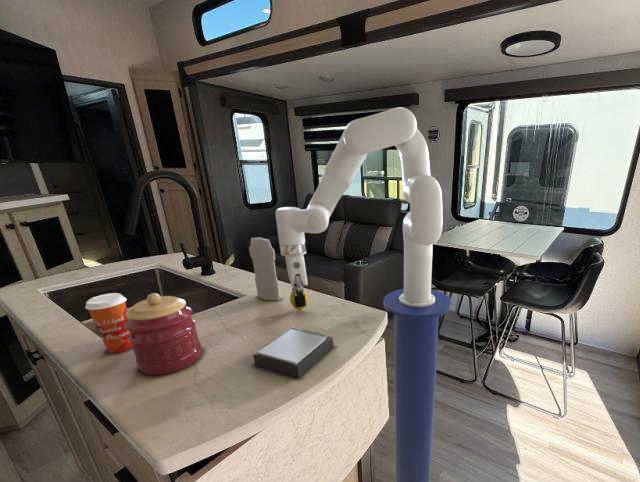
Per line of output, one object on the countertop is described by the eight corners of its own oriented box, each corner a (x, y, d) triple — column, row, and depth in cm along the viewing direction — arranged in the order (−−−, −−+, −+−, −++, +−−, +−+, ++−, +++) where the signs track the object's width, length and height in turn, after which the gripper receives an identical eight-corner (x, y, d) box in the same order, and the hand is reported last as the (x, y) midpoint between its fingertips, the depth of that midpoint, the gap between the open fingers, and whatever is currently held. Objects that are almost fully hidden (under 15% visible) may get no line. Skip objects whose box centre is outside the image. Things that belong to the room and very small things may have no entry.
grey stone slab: (253, 297, 114) (242, 237, 106) (261, 293, 117) (252, 235, 110) (277, 302, 110) (267, 240, 103) (284, 297, 114) (276, 237, 106)
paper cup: (97, 357, 79) (76, 306, 74) (109, 342, 85) (92, 294, 80) (135, 351, 82) (118, 301, 77) (145, 337, 88) (129, 290, 83)
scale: (293, 337, 88) (292, 326, 87) (333, 347, 84) (332, 335, 82) (254, 365, 76) (252, 352, 75) (299, 378, 72) (297, 364, 70)
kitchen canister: (132, 382, 70) (105, 310, 64) (146, 352, 81) (125, 288, 75) (200, 367, 75) (182, 299, 69) (205, 341, 86) (189, 280, 80)
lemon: (288, 312, 103) (285, 289, 100) (298, 305, 108) (295, 283, 105) (302, 315, 101) (300, 291, 98) (312, 307, 106) (310, 285, 103)
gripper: (309, 254, 91) (315, 311, 98) (302, 241, 106) (307, 291, 112) (282, 257, 88) (290, 315, 95) (278, 243, 103) (285, 294, 110)
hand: (299, 302), depth 104 cm, fingers closed on lemon, 5 cm apart
